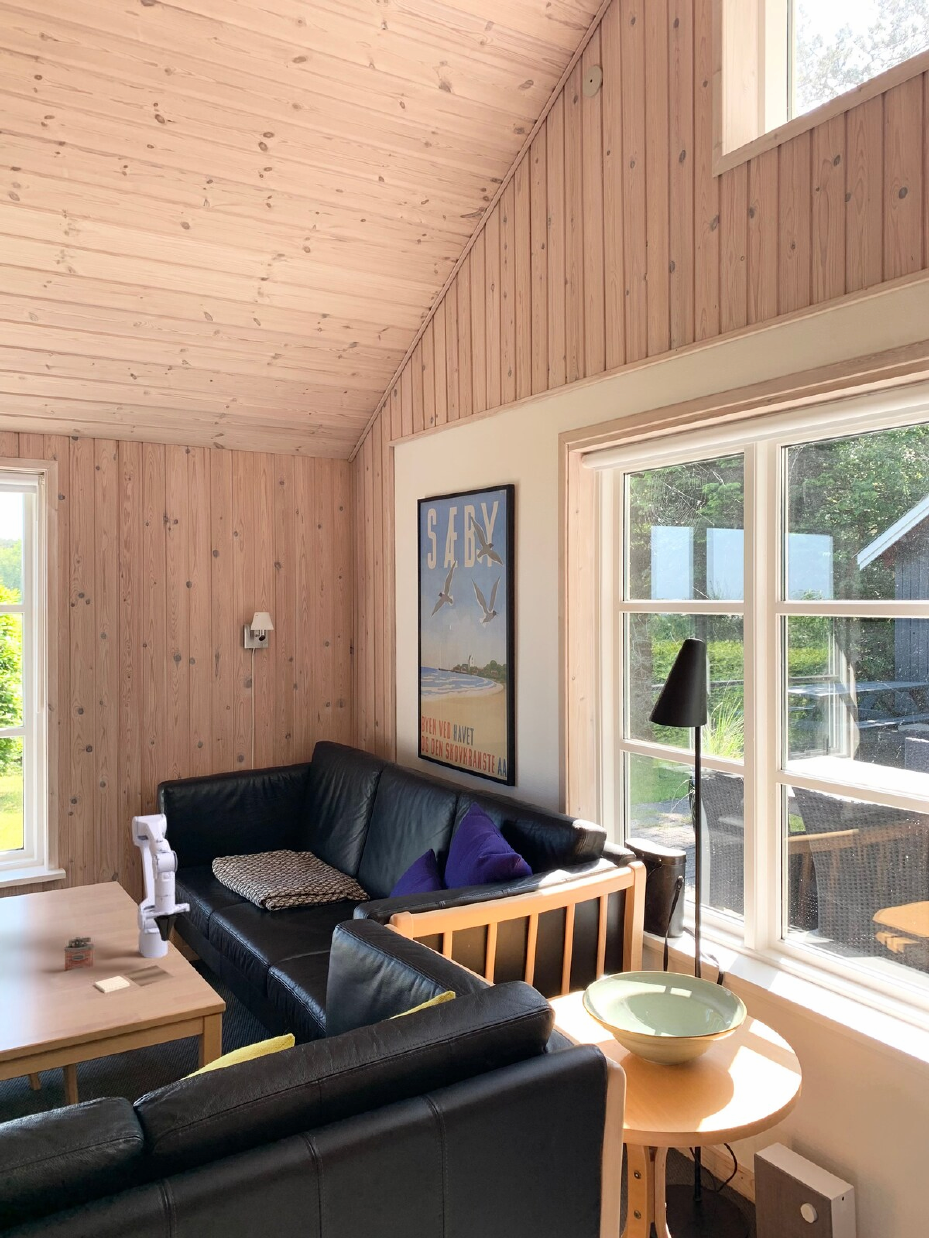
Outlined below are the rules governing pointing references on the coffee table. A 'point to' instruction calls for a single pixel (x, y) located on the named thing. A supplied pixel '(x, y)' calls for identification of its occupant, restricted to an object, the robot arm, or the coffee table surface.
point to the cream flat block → (112, 984)
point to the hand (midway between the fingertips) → (164, 940)
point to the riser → (148, 975)
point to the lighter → (78, 953)
